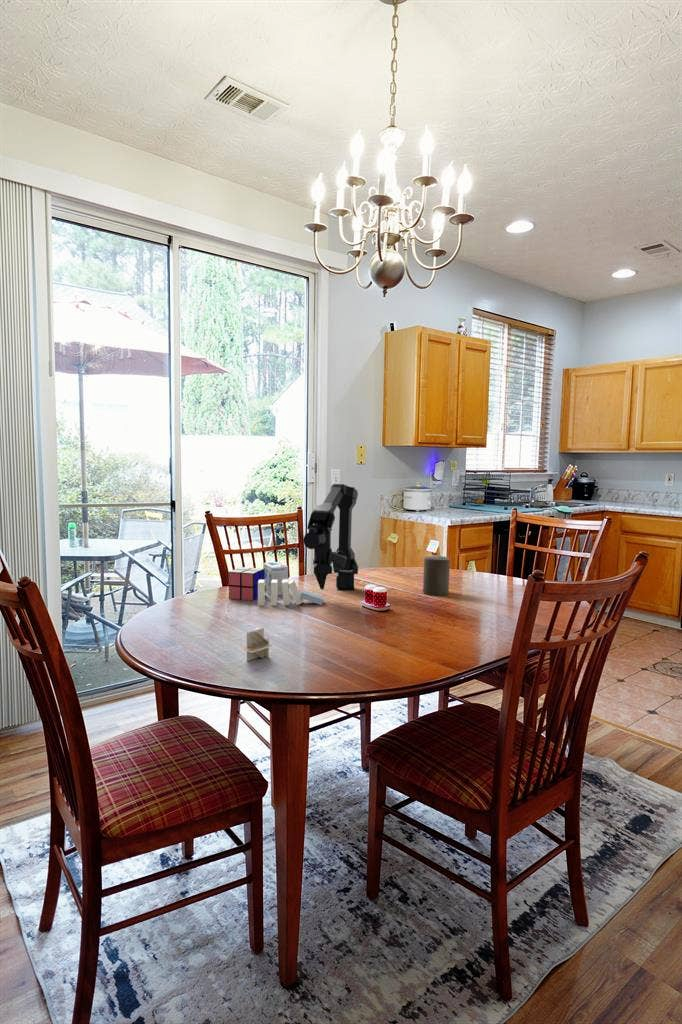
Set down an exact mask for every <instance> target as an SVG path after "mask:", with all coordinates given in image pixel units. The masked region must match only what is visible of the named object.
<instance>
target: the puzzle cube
mask: <svg viewBox="0 0 682 1024" xmlns="http://www.w3.org/2000/svg"><path fill="white" fill-rule="evenodd" d="M259 580H265V569H263V567H262V568H260V567H259V568H257V567H248V566H247V567H244V566H240V567H238V568H235V569H232V570H230V571H228V599H229V600H237V599H238V600H240V601H248V600H249V601H252V602H254V601H256V600H258V581H259Z"/></svg>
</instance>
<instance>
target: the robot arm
mask: <svg viewBox="0 0 682 1024" xmlns="http://www.w3.org/2000/svg"><path fill="white" fill-rule="evenodd" d="M358 493H359V492H358V490H357V489H356V488H355V487H354V486H349V485H346V484H345V483H334V484H331V486H330V490H329V492H328V494H327V496H326V497H325V499H324V501H323V502H322V503H321V504H319V505H317V506H316V507H315V508H314V509H313V510H312V512H311V513H310V515H309V516H310V517H309V520H308V524H307V528H306V529H307V530H308V532H307V533H305V534H304V537H303V539H302V542H303V545H304V547H306V548H307V549H309V550H313V551H314V552H313V555H314V556H313V559H312V562H313V563H312V565H313V574H314V577H315V578H316V580H317V581H316V582H317V583H318V586H319V589H320V590H324V589H325V585H326V581H327V576H328V575H331V574H333V573H334V574H337V575H336V576H335V579H336V580H335V587H336V588H337V590H338V591H354V590H355V589H356V588H355V575H358V574H359V565H358V563H357V559H356V556H355V555H356V554H355V552H354V550H353V548H352V519H353V518H352V516H353V514H352V512H353V510H354V509H353V508H355V506H356V504H357V499H358V496H359V494H358ZM337 508H338V509H339V519H338V521H339V523H338V547H337V549H336V551H332V547H331V546H332V543H331V541H332V540H331V539H332V538H331V535H332V530H333V528H332V527H333V525H334V523H335V520H336V516H335V511H336V509H337Z"/></svg>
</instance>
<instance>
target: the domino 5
mask: <svg viewBox="0 0 682 1024" xmlns="http://www.w3.org/2000/svg"><path fill="white" fill-rule="evenodd" d="M299 593H300V598H302V600H306V601H308V602H312V603H314V604H316V605H320V606H322V605H323V602H324V596H323V595H320V594H318V593H315V592H312V591H308V590H306V589H304V588H303V589H301V591H300V592H299Z"/></svg>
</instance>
